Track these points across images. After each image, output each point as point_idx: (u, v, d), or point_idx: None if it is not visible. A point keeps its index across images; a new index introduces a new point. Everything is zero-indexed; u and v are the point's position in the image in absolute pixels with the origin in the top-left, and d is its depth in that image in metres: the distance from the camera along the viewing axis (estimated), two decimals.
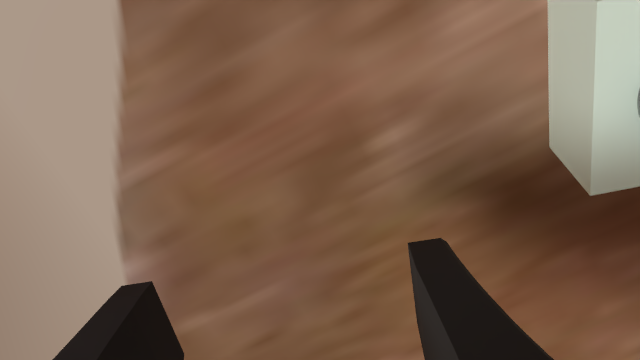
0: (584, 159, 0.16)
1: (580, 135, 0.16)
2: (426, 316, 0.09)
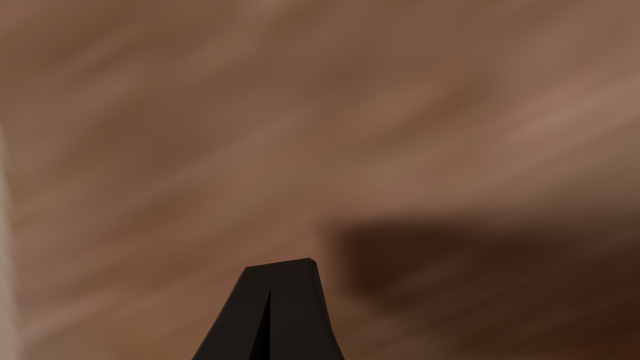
0: None
1: None
2: None
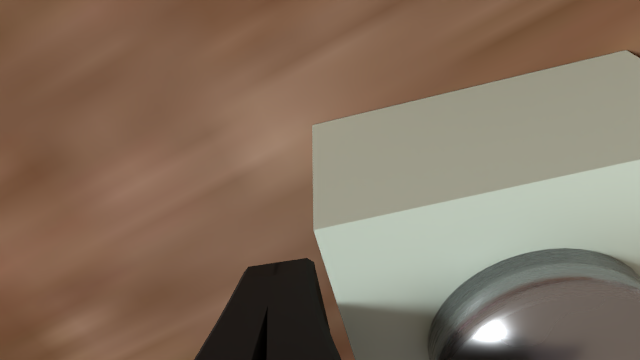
0: None
1: None
2: None
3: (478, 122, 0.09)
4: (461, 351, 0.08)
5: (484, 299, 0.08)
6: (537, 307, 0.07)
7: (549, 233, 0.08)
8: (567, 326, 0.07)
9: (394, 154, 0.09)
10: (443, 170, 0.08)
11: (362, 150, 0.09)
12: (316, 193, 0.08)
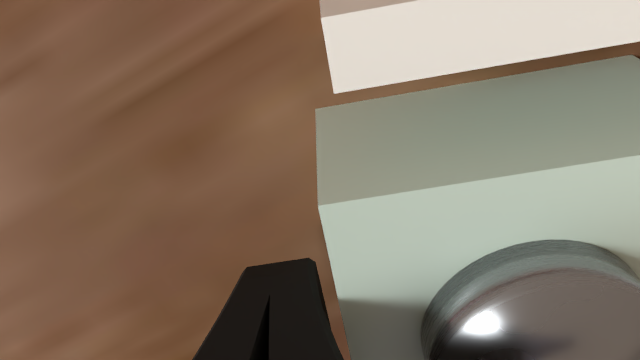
0: None
1: None
2: None
3: (484, 112, 0.09)
4: (458, 335, 0.08)
5: (483, 285, 0.08)
6: (537, 294, 0.07)
7: (552, 223, 0.08)
8: (564, 315, 0.07)
9: (400, 137, 0.09)
10: (449, 155, 0.08)
11: (367, 133, 0.09)
12: (320, 171, 0.08)
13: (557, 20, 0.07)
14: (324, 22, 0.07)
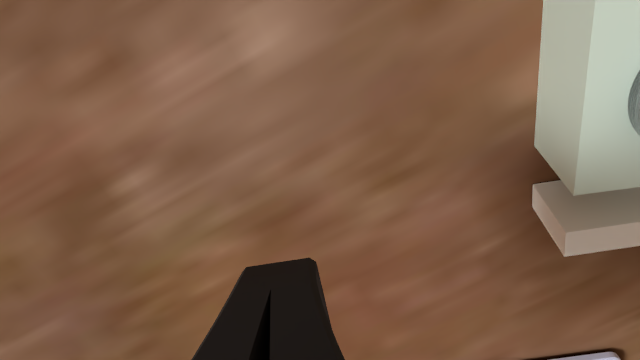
0: (571, 157, 0.16)
1: (567, 133, 0.16)
2: None
3: None
4: None
5: None
6: None
7: None
8: None
9: None
10: None
11: None
12: None
13: None
14: None
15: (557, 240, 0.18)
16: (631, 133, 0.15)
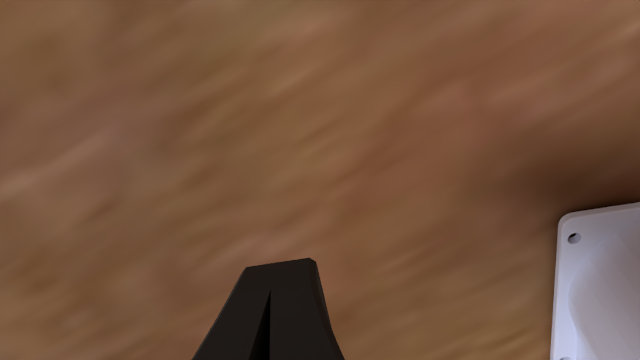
0: None
1: None
2: None
3: None
4: None
5: None
6: None
7: None
8: None
9: None
10: None
11: None
12: None
13: None
14: None
15: None
16: None
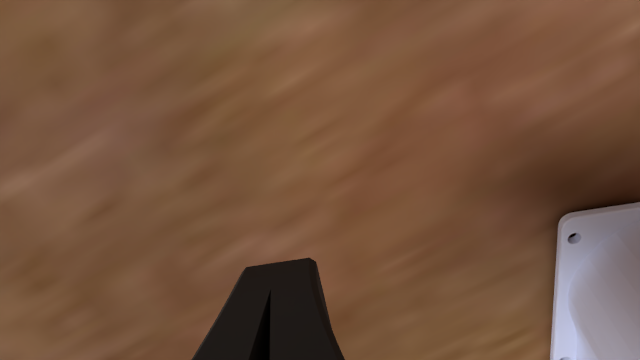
0: None
1: None
2: None
3: None
4: None
5: None
6: None
7: None
8: None
9: None
10: None
11: None
12: None
13: None
14: None
15: None
16: None
